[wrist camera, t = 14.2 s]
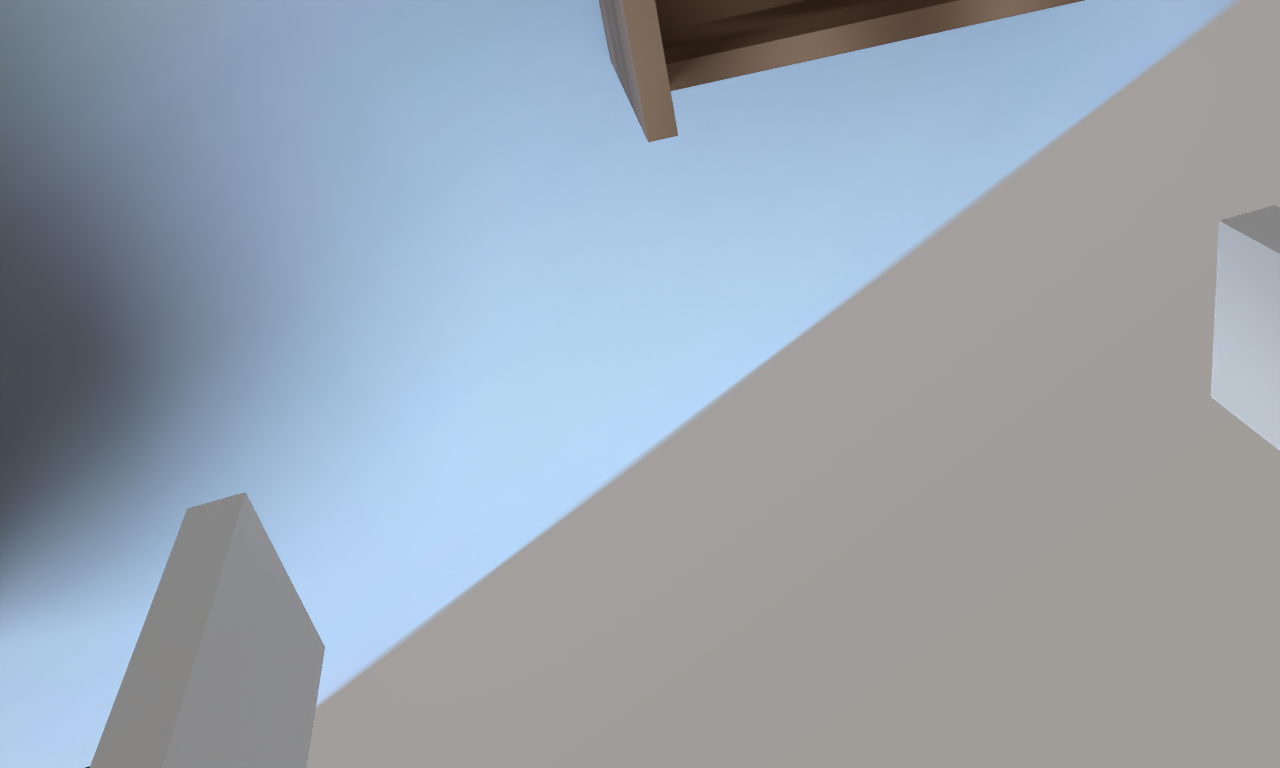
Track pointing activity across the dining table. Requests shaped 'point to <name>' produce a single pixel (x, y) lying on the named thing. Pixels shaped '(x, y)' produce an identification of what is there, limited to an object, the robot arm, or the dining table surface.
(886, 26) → the rack
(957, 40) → the dining table surface
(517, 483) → the dining table surface
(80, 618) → the dining table surface
